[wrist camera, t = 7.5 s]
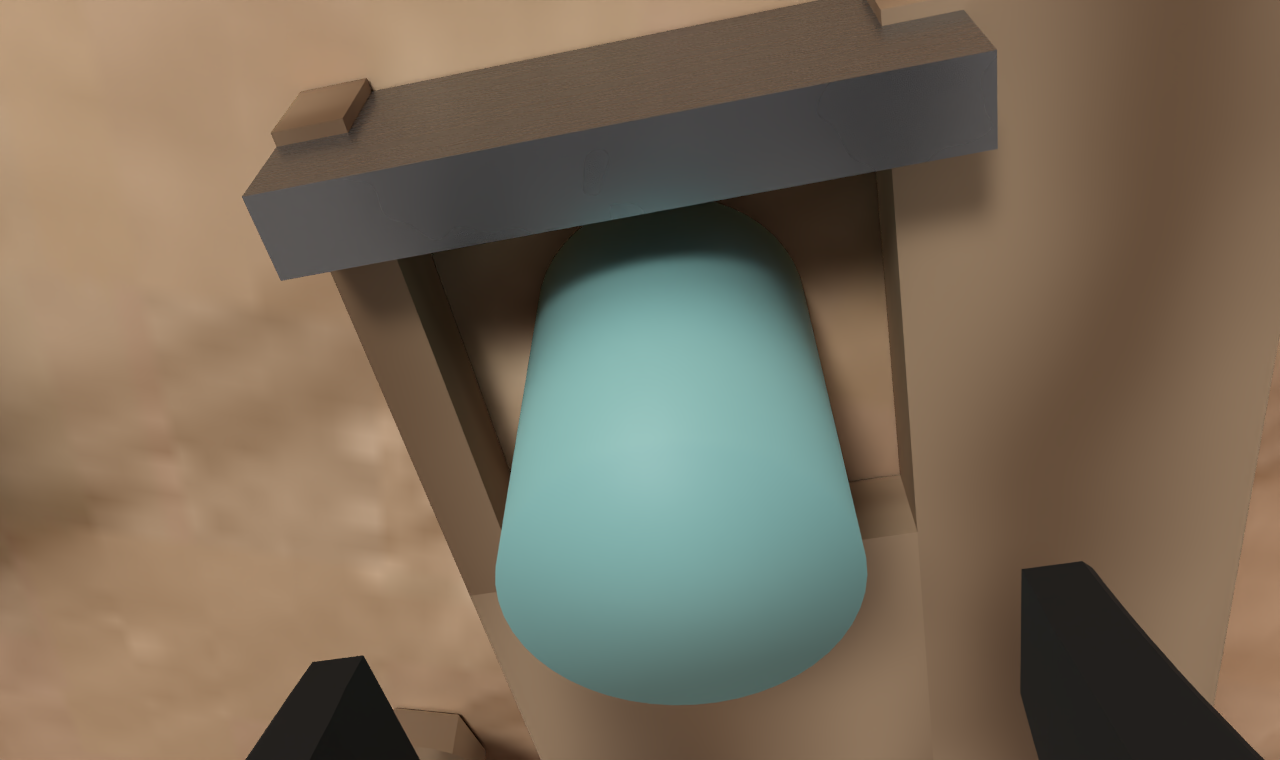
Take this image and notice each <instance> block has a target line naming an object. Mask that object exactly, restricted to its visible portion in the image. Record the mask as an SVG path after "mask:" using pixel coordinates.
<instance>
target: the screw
mask: <svg viewBox="0 0 1280 760" xmlns="http://www.w3.org/2000/svg"><path fill="white" fill-rule="evenodd" d="M393 711H394V713H395V715H396V716H397V718H398V720H399V722H400V724H401V726H402V727H403V729H404V731H405V733H406V735H407V737H408V738H409V740H410V742H411V744H412V746H413V748H414V749H415V751H416V753H417V755H418V757H419V759H420V760H485V756H486V750H485V749H484V748H483V746H482V745H481V744H480V742H479V741H478V740H477V739H476V737H475V736H474V735H473V733H472V732H471V731H470V729H469V728H468V727H467V725H466V724H465V723H464V721H463V720H462V719H461V717H460V716H459V715H458V714H449V713H439V712H430V711H420V710H410V709H401V708H396V709H394V710H393Z"/></svg>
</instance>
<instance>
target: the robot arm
mask: <svg viewBox="0 0 1280 760" xmlns="http://www.w3.org/2000/svg"><path fill="white" fill-rule="evenodd" d="M1020 694H1021V698H1022V701H1023V705H1024V709H1025V712H1026V716H1027V719H1028V723H1029V727H1030V730H1031V734H1032V738H1033V741H1034V745H1035V748H1036V752H1037V755H1038V759H1039V760H1264V759H1263V758H1262V757H1261V756H1260V755H1259V754H1258V753H1257V752H1256V751H1255V750H1254V749H1253V748H1252V747H1251V746H1250V745H1249V744H1248V743H1247V742H1246V741H1245V740H1244V739H1243V738H1242V737H1241V735H1240V734H1239V733H1238V732H1237V731H1236V730H1235V729H1234V728H1233V727H1232V726H1231V725H1230V724H1229V723H1228V722H1227V721H1226V720H1225V719H1224V718H1223V717H1222V716H1221V715H1220V714H1219V713H1218V712H1217V711H1216V710H1215V709H1214V707H1213V706H1212V705H1211V704H1210V703H1209V702H1208V701H1207V700H1206V699H1205V698H1204V697H1203V696H1202V695H1201V694H1200V693H1199V692H1198V691H1197V690H1196V689H1195V687H1194V686H1193V685H1192V684H1191V683H1190V682H1189V681H1188V680H1187V679H1186V678H1185V677H1184V676H1183V674H1182V673H1181V672H1180V671H1179V670H1178V669H1177V668H1176V667H1175V666H1174V664H1173V663H1172V662H1171V661H1170V660H1169V659H1168V658H1167V656H1166V655H1165V654H1164V653H1163V652H1162V651H1161V650H1160V649H1159V647H1158V646H1157V645H1156V644H1155V643H1154V642H1153V641H1152V640H1151V638H1150V637H1149V636H1148V635H1147V634H1146V633H1145V631H1144V630H1143V629H1142V628H1141V627H1140V626H1139V624H1138V623H1137V622H1136V621H1135V620H1134V619H1133V617H1132V616H1131V615H1130V614H1129V613H1128V611H1127V610H1126V609H1125V608H1124V606H1123V605H1122V604H1121V603H1120V602H1119V600H1118V599H1117V598H1116V597H1115V595H1114V594H1113V593H1112V592H1111V590H1110V589H1109V588H1108V587H1107V586H1106V584H1105V583H1104V582H1103V580H1102V579H1101V578H1100V577H1099V575H1098V574H1097V573H1096V571H1095V570H1094V569H1093V568H1092V567H1091V566H1089V565H1088V564H1086V563H1085V562H1083V561H1079V562H1071V563H1064V564H1056V565H1049V566H1041V567H1033V568H1026V569H1021V666H1020ZM246 760H420V759H419V757H418V755H417V753H416V751H415V749H414V748H413V746H412V744H411V742H410V740H409V738H408V737H407V735H406V733H405V731H404V729H403V727H402V726H401V724H400V722H399V720H398V718H397V716H396V715H395V713H394V711H393V709H392V707H391V705H390V704H389V702H388V700H387V698H386V696H385V694H384V692H383V691H382V689H381V687H380V685H379V683H378V681H377V680H376V678H375V676H374V674H373V672H372V670H371V669H370V667H369V665H368V663H367V661H366V659H365V658H364V656H356V657H348V658H340V659H333V660H325V661H318V662H312V664H311V665H310V666H309V668H308V669H307V671H306V672H305V673H304V675H303V676H302V678H301V679H300V681H299V682H298V683H297V685H296V686H295V688H294V689H293V691H292V692H291V693H290V695H289V696H288V698H287V699H286V701H285V702H284V704H283V705H282V707H281V708H280V710H279V711H278V713H277V714H276V715H275V717H274V718H273V720H272V721H271V723H270V724H269V726H268V727H267V729H266V730H265V732H264V733H263V735H262V736H261V738H260V739H259V741H258V742H257V743H256V745H255V746H254V748H253V749H252V751H251V752H250V754H249V755H248V757H247V758H246Z"/></svg>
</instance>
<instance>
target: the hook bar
mask: <svg viewBox="0 0 1280 760" xmlns="http://www.w3.org/2000/svg"><path fill="white" fill-rule="evenodd" d="M995 149H998V115H997V49H996V48H995V47H994V46H993V44H992V43H991V42H990V41H989V39H988V38H987V37H986V36H985V35H984V33H983V32H982V31H981V30H980V29H979V27H978V26H977V25H976V24H975V23H974V21H973V20H972V19H971V18H970V17H969V15H968V14H967V13H966V12H965V11H964V10H960V11H955V12H949V13H944V14H939V15H934V16H929V17H924V18H919V19H914V20H909V21H904V22H899V23H894V24H889V25H884V26H882V25H881V24H880V22H879V20H878V19H877V17H876V15H875V13H874V12H873V10H872V8H871V7H870V5H869V3H868V2H867V0H818V1H813V2H808V3H803V4H799V5H794V6H789V7H784V8H779V9H774V10H769V11H764V12H759V13H754V14H750V15H745V16H740V17H735V18H730V19H725V20H720V21H715V22H710V23H705V24H701V25H696V26H691V27H686V28H681V29H676V30H671V31H666V32H661V33H656V34H652V35H647V36H642V37H637V38H632V39H627V40H622V41H617V42H612V43H607V44H603V45H598V46H593V47H588V48H583V49H578V50H573V51H568V52H563V53H558V54H554V55H549V56H544V57H539V58H534V59H529V60H524V61H519V62H514V63H509V64H505V65H500V66H495V67H490V68H485V69H480V70H475V71H470V72H465V73H461V74H456V75H451V76H446V77H441V78H436V79H431V80H426V81H421V82H416V83H412V84H407V85H402V86H397V87H392V88H387V89H382V90H377V91H372V92H371V94H370V95H369V97H368V99H367V101H366V102H365V104H364V106H363V107H362V109H361V111H360V113H359V114H358V116H357V118H356V120H355V121H354V123H353V125H352V126H351V128H350V130H349V132H348V133H344V134H339V135H334V136H329V137H324V138H319V139H314V140H309V141H304V142H299V143H294V144H289V145H284V146H279V147H276V149H275V150H274V152H273V153H272V154H271V156H270V157H269V159H268V160H267V162H266V163H265V165H264V166H263V167H262V169H261V170H260V172H259V173H258V175H257V176H256V177H255V179H254V180H253V182H252V183H251V185H250V186H249V187H248V189H247V190H246V192H245V193H244V195H243V196H242V198H243V200H244V202H245V204H246V207H247V209H248V211H249V213H250V215H251V217H252V219H253V222H254V224H255V226H256V228H257V230H258V232H259V235H260V237H261V239H262V241H263V243H264V245H265V247H266V250H267V252H268V254H269V256H270V258H271V260H272V262H273V265H274V267H275V269H276V271H277V273H278V275H279V278H280V280H281V281H282V280H287V279H293V278H298V277H304V276H309V275H315V274H320V273H325V272H331V271H336V270H342V269H347V268H353V267H358V266H364V265H369V264H374V263H380V262H385V261H391V260H396V259H402V258H407V257H413V256H418V255H423V254H429V253H434V252H440V251H445V250H451V249H456V248H461V247H467V246H472V245H478V244H483V243H489V242H494V241H500V240H505V239H510V238H516V237H521V236H527V235H532V234H538V233H543V232H549V231H554V230H559V229H565V228H570V227H576V226H581V225H587V224H592V223H598V222H603V221H608V220H614V219H619V218H625V217H630V216H636V215H641V214H647V213H652V212H657V211H663V210H668V209H674V208H679V207H685V206H690V205H696V204H701V203H706V202H712V201H717V200H723V199H728V198H734V197H739V196H745V195H750V194H755V193H761V192H766V191H772V190H777V189H783V188H788V187H794V186H799V185H804V184H810V183H815V182H821V181H826V180H832V179H837V178H843V177H848V176H853V175H859V174H864V173H870V172H875V171H881V170H886V169H892V168H897V167H902V166H908V165H913V164H919V163H924V162H930V161H935V160H941V159H946V158H951V157H957V156H962V155H968V154H973V153H979V152H984V151H989V150H995Z"/></svg>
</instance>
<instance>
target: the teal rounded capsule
mask: <svg viewBox="0 0 1280 760" xmlns="http://www.w3.org/2000/svg"><path fill="white" fill-rule="evenodd" d="M866 582H867V562H866V554H865V550H864V546H863V542H862V537H861V533H860V529H859V525H858V520H857V516H856V512H855V508H854V503H853V499H852V495H851V491H850V486H849V482H848V478H847V474H846V469H845V465H844V461H843V456H842V452H841V448H840V444H839V439H838V435H837V431H836V427H835V422H834V418H833V414H832V410H831V405H830V401H829V397H828V393H827V388H826V384H825V380H824V376H823V371H822V367H821V363H820V359H819V354H818V350H817V346H816V342H815V337H814V333H813V329H812V325H811V320H810V316H809V312H808V307H807V303H806V299H805V295H804V291H803V287H802V283H801V279H800V276H799V273H798V271H797V269H796V267H795V264H794V262H793V261H792V259H791V257H790V256H789V254H788V253H787V251H786V249H785V248H784V247H783V246H782V245H781V243H780V242H779V241H778V240H777V239H776V238H775V236H774V235H772V234H771V233H770V232H769V231H768V230H767V229H766V228H764V227H763V226H762V225H761V224H759V223H758V222H756V221H755V220H753V219H752V218H750V217H749V216H747V215H745V214H743V213H741V212H739V211H737V210H735V209H733V208H731V207H728V206H725V205H722V204H719V203H716V202H706V203H701V204H696V205H690V206H685V207H679V208H674V209H668V210H663V211H657V212H652V213H647V214H641V215H636V216H630V217H625V218H619V219H614V220H608V221H603V222H598V223H592V224H587V225H584V226H583V227H582V228H580V229H579V230H578V231H576V232H575V233H574V234H573V235H572V236H571V237H570V238H569V239H568V240H567V241H566V242H565V243H564V245H563V246H562V247H561V249H560V250H559V251H558V253H557V254H556V255H555V257H554V259H553V260H552V262H551V264H550V266H549V268H548V270H547V272H546V275H545V277H544V280H543V283H542V286H541V291H540V296H539V301H538V307H537V314H536V320H535V326H534V332H533V338H532V345H531V351H530V357H529V363H528V369H527V376H526V382H525V388H524V394H523V400H522V406H521V413H520V419H519V425H518V431H517V437H516V444H515V450H514V456H513V462H512V468H511V474H510V481H509V487H508V493H507V499H506V505H505V512H504V518H503V524H502V530H501V536H500V543H499V549H498V555H497V561H496V571H495V585H496V591H497V596H498V601H499V604H500V607H501V610H502V612H503V615H504V618H505V619H506V621H507V623H508V625H509V626H510V628H511V630H512V632H513V633H514V634H515V636H516V637H517V638H518V639H519V641H520V642H521V643H522V644H523V646H524V647H525V648H526V649H527V650H528V651H529V652H530V653H531V654H533V655H534V656H535V657H536V658H537V659H538V660H539V661H540V662H542V663H543V664H545V665H546V666H547V667H549V668H550V669H551V670H553V671H554V672H556V673H558V674H559V675H561V676H563V677H565V678H566V679H568V680H570V681H572V682H574V683H576V684H579V685H581V686H583V687H585V688H588V689H590V690H593V691H596V692H599V693H602V694H605V695H608V696H612V697H616V698H620V699H624V700H629V701H635V702H642V703H648V704H661V705H697V704H707V703H716V702H722V701H727V700H732V699H737V698H741V697H745V696H748V695H752V694H755V693H759V692H761V691H764V690H767V689H769V688H772V687H774V686H777V685H779V684H781V683H783V682H785V681H787V680H789V679H791V678H793V677H795V676H797V675H799V674H800V673H802V672H803V671H805V670H806V669H808V668H810V667H811V666H813V665H814V664H815V663H817V662H818V661H819V660H820V659H821V658H823V657H824V656H825V655H826V654H828V653H829V652H830V651H831V650H832V649H833V648H834V647H835V645H836V644H837V643H838V642H839V641H840V640H841V639H842V638H843V636H844V635H845V634H846V632H847V631H848V629H849V628H850V627H851V625H852V624H853V622H854V620H855V618H856V616H857V614H858V612H859V610H860V608H861V604H862V601H863V598H864V594H865V591H866Z"/></svg>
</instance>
